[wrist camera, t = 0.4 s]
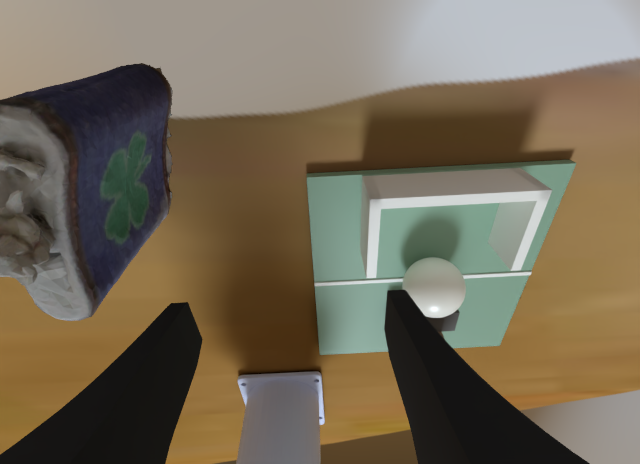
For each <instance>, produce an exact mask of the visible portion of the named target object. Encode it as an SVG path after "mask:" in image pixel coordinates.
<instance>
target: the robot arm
mask: <svg viewBox="0 0 640 464" xmlns="http://www.w3.org/2000/svg"><path fill="white" fill-rule="evenodd" d="M384 331H385V336H386V342H387V347H388V352H389V357H390V360H391V364H392V367H393V371H394V374H395V377H396V381H397V384H398V387H399V390H400V394H401V397H402V400H403V404H404V407H405V410H406V414H407V417H408V420H409V424H410V428H411V432H412V436H413V441H414V446H415V450H416V455H417V460H418V464H589V463H588V462H587V461H585V460H584V459H582V458H581V457H579V456H578V455H576V454H575V453H573V452H572V451H570V450H569V449H568V448H566V447H565V446H564V445H562V444H561V443H560V442H558V441H557V440H556V439H554V438H553V437H552V436H550V435H549V434H548V433H546V432H545V431H544V430H543V429H541V428H540V427H539V426H538V425H536V424H535V423H534V422H532V421H531V420H530V419H529V418H528V417H526V416H525V415H524V414H523V413H521V412H520V411H519V410H518V409H516V408H515V407H514V406H513V405H512V404H510V403H509V402H508V401H507V400H506V399H505V398H503V397H502V396H501V395H500V394H499V393H498V392H497V391H495V390H494V389H493V388H492V387H491V386H490V385H489V384H488V383H487V382H486V381H485V380H483V379H482V378H481V377H480V376H479V375H478V374H477V373H476V372H475V371H474V370H473V369H472V368H471V367H470V366H469V365H468V364H467V363H466V362H465V361H464V360H463V359H462V358H461V357H460V356H459V355H458V353H457V352H456V351H455V350H454V349H453V348H452V347H451V346H450V345H449V344H448V343H447V341H446V340H445V339H444V338H443V337H442V336H441V335H440V333H439V332H438V331H437V330H436V329H435V328H434V326H433V325H432V324H431V323H430V321H429V320H428V319H427V318H426V316H425V315H424V314H423V313H422V311H421V310H420V309H419V307H418V306H417V305H416V303H415V302H414V301H413V299H412V298H411V297H410V295H409V294H408V292H407V291H406V290H387V301H386V313H385V325H384ZM201 344H202V337H201V335H200V332H199V330H198V327H197V325H196V322H195V320H194V317H193V314H192V312H191V309H190V307H189V304H188V302H186V303H171V304H170V305H169V306H168V307H167V308H166V309H165V310H164V311H163V312H162V313H161V314H160V315H159V316H158V317H157V318H156V319H155V320H154V321H153V323H152V324H151V325H150V326H149V327H148V328H147V329H146V330H145V331H144V332H143V333H142V334H141V335H140V336H139V337H138V338H137V339H136V340H135V341H134V342H133V343H132V344H131V345H130V346H129V347H128V348H127V349H126V350H125V351H124V352H123V353H122V354H121V355H120V356H119V357H118V358H117V359H116V360H115V361H114V362H113V363H112V364H111V365H110V366H109V367H108V368H107V369H106V370H105V371H104V372H102V373H101V374H100V375H99V376H98V377H97V378H96V379H95V380H94V381H93V382H92V383H91V384H90V385H88V386H87V387H86V388H85V389H84V390H83V391H82V392H80V393H79V394H78V395H77V396H76V397H75V398H73V399H72V400H71V401H70V402H69V403H67V404H66V405H65V406H64V407H63V408H61V409H60V410H59V411H58V412H56V413H55V414H54V415H53V416H51V417H50V418H49V419H48V420H46V421H45V422H44V423H42V424H41V425H40V426H38V427H37V428H36V429H34V430H33V431H32V432H30V433H29V434H28V435H27V436H25V437H24V438H23V439H21V440H20V441H19V442H17V443H16V444H15V445H13V446H12V447H10V448H9V449H8V450H6V451H5V452H3V453H2V454H1V455H0V464H165V462H166V458H167V454H168V450H169V446H170V443H171V440H172V437H173V434H174V431H175V428H176V425H177V422H178V419H179V416H180V414H181V411H182V408H183V405H184V402H185V399H186V396H187V394H188V391H189V388H190V385H191V382H192V379H193V376H194V373H195V370H196V367H197V363H198V359H199V354H200V349H201ZM238 384H239V387H240V390H241V393H242V396H243V400H244V403H245V406H246V409H245V415H244V421H243V427H242V433H241V439H240V445H239V451H238V457H237V463H236V464H320V425H322V424H324V423H325V418H324V404H323V391H322V377H321V373H320V372H318V371H312V372H292V373H273V374H253V375H241V376H239V377H238Z"/></svg>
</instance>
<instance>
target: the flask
mask: <svg viewBox="0 0 640 464" xmlns="http://www.w3.org/2000/svg"><path fill="white" fill-rule="evenodd" d="M171 97H172V88H171V87H170V84H169V83H168V81H167V80H166V78H165V77H164V75H163V74H162V72H161V69H160V68H157V69H155V68H153V67H151V66H150V65H149V66H148V65H146V64H143V63H141V64H133V65H126V66H121V67H118V68H115V69H112V70H110V71H107V72H104V73H100V74H98V75H94V76H90V77H87V78H83V79H80V80H76V81H72V82H68V83H64V84H60V85H54V86H50V87H46V88H42V89H39V90H36V91H32V92H25V93H23V94H19V95H16V96H13V97H10V98H7V99H3V100H0V277H12V278H15V279H17V280H18V281H19V282H20V283H21V284H22V285H25V287H26V289H27V291H28V293H29V294H30V295H31V297H32V298H33V300H34V302H35V304H36V305H37V306H38V307H39V308H40V309H41V310H42V311H43V312H45V313H47V314H49V315H51V316H53V317H55V318H57V319H62V320H67V321H73V320H82V319H85V318H88V317H92V315H93V314H94V313H95V311H96V310H97V308H98V307H99V305H100V304H101V302H102V301H103V299H104V298H105V296H106V295H107V293H108V292H109V290H110V289H111V288H112V286H113V285H114V284H115V283H116V282H117V280H118V279H119V278H120V276H121V275H122V273H123V272H124V270H125V269H126V267H127V266H128V264H129V263H130V262H131V260H132V259H133V258H134V257H135V256H136V254H137V253H138V251H139V250H140V248H141V247H142V246H143V245H144V243H145V242H146V241H147V240H148V238H149V237H150V236H151V235H152V234H153V232H154V231H155V230H156V228H157V227H158V226H159V225H160V223H161V222H162V220H164V219H165V218H166V216H167V215H168V212H169V207H170V204H171V198H172V192H169V187H168V186H169V177H170V176H169V175H170V173H171V165H172V162H171V157H172V156H171V155H170V153H171V152H168V151H169V149H168V147H167V145H166V144H167V143H166V142H167V138H168V137H170V136H171V135H170V132H169V130H168V127H167V125H168V119H169V117H170V116H171V115H172V114H171V105H172V98H171Z"/></svg>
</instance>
